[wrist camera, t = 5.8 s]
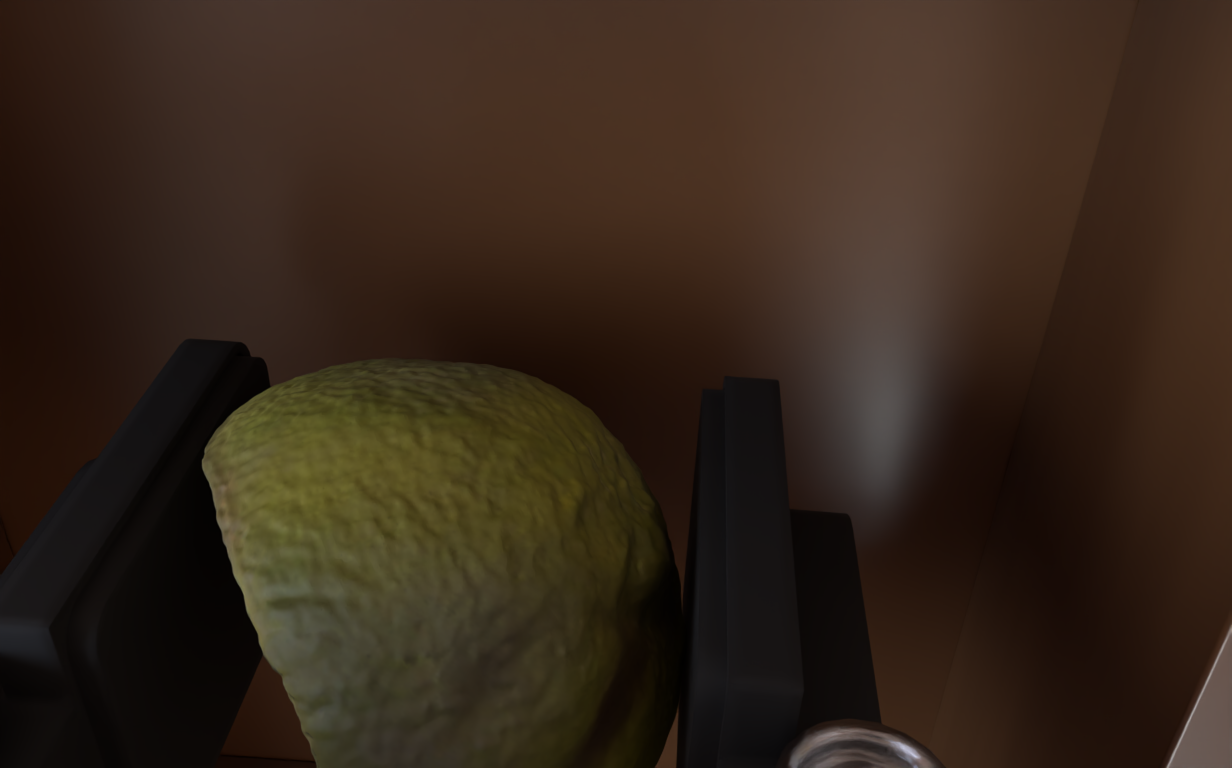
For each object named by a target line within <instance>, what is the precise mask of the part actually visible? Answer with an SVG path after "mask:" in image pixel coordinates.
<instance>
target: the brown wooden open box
mask: <svg viewBox="0 0 1232 768" xmlns="http://www.w3.org/2000/svg"><path fill="white" fill-rule="evenodd" d="M190 338H192V339H206V340H220V341H234V342H242V343H244V344H245V345H246V346H247V348H248V349H249V351H250V355H251V357H261V358H262V359H264V361H265V363H266V365H267V369H268V373H269V380H270V386H271V387H272V386H274V385H277V384H281V383H284V382H287V381H289V380H292V379H294V378H295V377H299V376H303V375H306V374H309V373H314V372H318V371H320V370H322V369H326V368H328V367H330V366H336V365H342V364H346V363H353V362H356V361H365V360H370V359H384V358H402V359H428V360H432V361H449V362H453V363H456V362H462V363H474V364H488V365H493V366H495V367H499V368H505V369H512V370H516V371H520V372H522V373H525V374H527V375H530V376H533V377H536V378H538V379H540V380H542V381H543V382H545V383H547V384H551V385H553V386H555V387H556V388H558V389H560V390H561V391H562V392H565V393H567V394H569V395H571V396H572V397H573V398H575V399H577V400H578V401H579V402H580V403H582V404H583V405H584V406H586V407H588V408H590V409H591V410H592V411H593V412H594V413H595V415H596V416H597V417H598V418H599V419H600V421H601V422H602V424H603V425H604V427H605V428H606V429H607V430H609V431H610V432H611V434H612V435H613V436H614V437H615V438H617V439H618V440H619V442H620V443H622V444H623V446H624V449H625V451H626V452H627V453H628V455H629V456H630V457H631V459H632V460H633V461H634V462H635V463H636V464H637V466H638V467H639V468H640V469H641V471H642V474H643V477H644V479H645V481H646V483H647V484H648V486H649V487H650V489H651V491H652V493H653V495H654V496H655V498H656V499H657V500H658V502H659V503H660V506H661V510H662V513H663V518H664V520H665V522H666V524H667V532H668V537H669V539H670V541H671V544H672V550H673V552H674V557H675V564H676V566H677V569H678V572H679V578H680V582H681V601H682V600H683V586H684V575H685V565H686V554H687V544H688V533H689V523H690V512H691V502H692V491H693V481H694V470H695V460H696V449H697V439H698V428H699V418H700V407H701V397H702V390H703V389H716V390H722V388H723V381H724V377H725V376H733V377H748V378H762V379H776V380H778V381H779V385H780V396H781V409H782V421H783V434H784V446H785V459H786V471H787V483H788V496H789V508H790V509H795V510H809V511H822V512H835V513H847V514H848V515H849V517H850V518H851V522H852V527H853V532H854V539H855V546H856V553H857V559H858V566H859V573H860V580H861V586H862V593H863V600H864V607H865V613H866V620H867V627H868V634H869V640H870V647H871V654H872V661H873V667H874V674H875V681H876V688H877V694H878V701H879V708H880V715H881V721H882V724H883V725H886V726H889V727H891V728H894V729H896V730H899V731H902V732H904V733H906V734H908V735H909V736H911V737H912V738H914V739H915V740H916V741H918V742H919V743H921V744H922V745H924V746H925V747H927V748H928V749H930V750H931V751H932V753H933V754H934V755H935V756H936V757H937V758H938V759H939V760H940V761H941V763H942V764H943V765H944V766H945V767H946V768H1232V0H0V575H1V574H2V573H3V571H4V570H5V569H6V567H7V566H8V565H9V563H10V562H11V561H12V559H13V558H14V557H15V555H16V554H17V553H18V551H19V550H20V549H21V547H22V546H23V545H24V543H25V542H26V540H27V539H28V538H29V536H30V535H31V534H32V532H33V531H34V530H35V528H36V527H37V526H38V524H39V523H40V522H41V520H42V519H43V518H44V516H45V515H46V514H47V512H48V511H49V510H50V508H51V507H52V505H53V504H54V503H55V501H56V500H57V499H58V497H59V496H60V495H61V493H62V492H63V491H64V489H65V488H66V487H67V485H68V484H69V483H70V481H71V480H72V479H73V477H74V476H75V474H76V473H77V472H78V471H79V470H80V469H81V468H82V467H83V466H84V465H85V464H86V463H87V462H88V461H90V460H93V459H95V458H97V457H98V456H99V454H100V453H101V452H102V450H103V449H104V448H105V446H106V445H107V444H108V442H109V441H110V439H111V438H112V437H113V435H114V434H115V433H116V431H117V430H118V428H119V427H120V426H121V424H122V423H123V422H124V420H125V419H126V418H127V416H128V415H129V413H130V412H131V411H132V409H133V408H134V407H135V405H136V404H137V403H138V401H139V400H140V398H141V397H142V396H143V394H144V393H145V392H146V390H147V389H148V387H149V386H150V385H151V383H152V382H153V381H154V379H155V378H156V377H157V375H158V374H159V372H160V371H161V370H162V368H163V367H164V366H165V364H166V363H167V362H168V360H169V359H170V357H171V356H172V355H173V353H174V352H175V351H176V349H177V348H178V346H179V345H180V344H181V343H182V342H183V341H184V340H185V339H190ZM677 731H678V710H677V714H676V717H675V720H674V722H673V725H672V728H671V730H670V732H669V735H668V737H667V740H666V744H665V747H664V749H663V752H662V754H661V756H660V759H659V761H658V763H657V765H656V766H655V768H676V759H677ZM214 768H317V765H316V761H315V759H314V757H313V755H312V753H311V747H310V743H309V741H308V739H307V738H306V736H305V735H304V733H303V731H302V729H301V722H300V720H299V717H298V716H297V713H296V711H295V708H294V704H293V703H292V702H291V700H290V699H289V696H288V693H287V691H286V690H285V687H284V685H283V679H282V676H281V675H280V674H279V673H277V672H276V671H274V670H273V669H272V667H271V666H270V664H269V663H268V662H267V660H266V659H265V657H264V655H263V656H262V658H261V661H260V663H259V665H258V668H257V670H256V672H255V674H254V677H253V679H252V681H251V684H250V686H249V688H248V691H247V693H246V695H245V697H244V700H243V702H242V704H241V707H240V709H239V711H238V714H237V716H236V718H235V721H234V723H233V725H232V727H231V730H230V732H229V734H228V737H227V739H226V741H225V744H224V746H223V748H222V750H221V753H220V755H219V757H218V760H217V762H216V764H215V767H214Z"/></svg>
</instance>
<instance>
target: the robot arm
mask: <svg viewBox="0 0 1232 768" xmlns="http://www.w3.org/2000/svg"><path fill="white" fill-rule="evenodd" d="M269 388H271V386H270V380H269V373H268V369H267V365H266V363H265V361H264V359H262V358H261V357H251V355H250V351H249V349H248V348H247V346H246V345H245V344H244V343H242V342H234V341H220V340H206V339H192V338H190V339H185V340H184V341H183V342H182V343H181V344H180V345H179V346H178V348H177V349H176V351H175V352H174V353H173V355H172V356H171V357H170V359H169V360H168V362H167V363H166V364H165V366H164V367H163V368H162V370H161V371H160V372H159V374H158V375H157V377H156V378H155V379H154V381H153V382H152V383H151V385H150V386H149V387H148V389H147V390H146V392H145V393H144V394H143V396H142V397H141V398H140V400H139V401H138V403H137V404H136V405H135V407H134V408H133V409H132V411H131V412H130V413H129V415H128V416H127V418H126V419H125V420H124V422H123V423H122V424H121V426H120V427H119V428H118V430H117V431H116V433H115V434H114V435H113V437H112V438H111V439H110V441H109V442H108V444H107V445H106V446H105V448H104V449H103V450H102V452H101V453H100V454H99V456H98V457H97V458H95V459H93V460H90V461H88V462H87V463H86V464H85V465H84V466H83V467H82V468H81V469H80V470H79V471H78V472H77V473H76V474H75V476H74V477H73V479H72V480H71V481H70V483H69V484H68V485H67V487H66V488H65V489H64V491H63V492H62V493H61V495H60V496H59V497H58V499H57V500H56V501H55V503H54V504H53V505H52V507H51V508H50V510H49V511H48V512H47V514H46V515H45V516H44V518H43V519H42V520H41V522H40V523H39V524H38V526H37V527H36V528H35V530H34V531H33V532H32V534H31V535H30V536H29V538H28V539H27V540H26V542H25V543H24V545H23V546H22V547H21V549H20V550H19V551H18V553H17V554H16V555H15V557H14V558H13V559H12V561H11V562H10V563H9V565H8V566H7V567H6V569H5V570H4V571H3V573H2V574H1V575H0V768H214V767H215V764H216V762H217V760H218V757H219V755H220V753H221V750H222V748H223V746H224V744H225V741H226V739H227V737H228V734H229V732H230V730H231V727H232V725H233V723H234V721H235V718H236V716H237V714H238V711H239V709H240V707H241V704H242V702H243V700H244V697H245V695H246V693H247V691H248V688H249V686H250V684H251V681H252V679H253V677H254V674H255V672H256V670H257V668H258V665H259V663H260V661H261V658H262V656H263V652H262V649H261V646H260V644H259V639H258V633H257V631H256V629H255V627H254V625H253V623H252V621H251V619H250V617H249V616H248V614H247V611H246V606H245V601H244V594H243V592H242V590H241V588H240V586H239V585H238V583H237V581H236V579H235V577H234V575H233V572H232V564H231V561H230V559H229V557H228V553H227V548H226V546H225V544H224V543H223V540H222V532H221V529H220V527H219V525H218V523H217V519H216V509H215V505H214V501H213V495H212V490H211V488H210V485H209V482H208V480H207V478H206V476H205V474H204V472H203V469H202V459H203V458H204V455H205V453H204V450H205V447H206V446H207V444H208V442H209V441H210V439H211V437H212V436H213V434H214V433H215V431H216V429H217V428H218V427H219V426H220V425H222V424H223V422H224V421H225V420H226V419H227V417H228V416H230V415H231V414H232V413H233V412H234V411H235V410H237V409H238V408H239V407H241V406H242V405H244V404H245V403H247V402H248V401H249V400H250V399H252V398H253V397H255V396H256V395H258V394H260V393H262V392H264V391H265V390H267V389H269ZM682 614H683V617H684V621H685V624H686V632H687V639H686V650H685V656H684V663H683V671H682V678H681V688H680V699H679V704H678V731H677V759H676V768H946V767H945V766H944V765H943V764H942V763H941V761H940V760H939V759H938V758H937V757H936V756H935V755H934V754H933V753H932V751H931V750H930V749H928V748H927V747H925V746H924V745H922V744H921V743H919V742H918V741H916V740H915V739H914V738H912V737H911V736H909V735H908V734H906V733H904V732H902V731H899V730H896V729H894V728H891V727H889V726H886V725H883V724H882V721H881V715H880V708H879V701H878V694H877V688H876V681H875V674H874V667H873V661H872V654H871V647H870V640H869V634H868V627H867V620H866V613H865V607H864V600H863V593H862V586H861V580H860V573H859V566H858V559H857V553H856V546H855V539H854V532H853V527H852V522H851V518H850V517H849V515H848V514H847V513H835V512H822V511H809V510H795V509H790V508H789V496H788V483H787V471H786V459H785V446H784V434H783V421H782V409H781V396H780V385H779V381H778V380H776V379H762V378H748V377H733V376H725V377H724V381H723V388H722V390H716V389H703V390H702V397H701V407H700V418H699V428H698V439H697V449H696V460H695V470H694V481H693V491H692V502H691V512H690V523H689V533H688V544H687V554H686V565H685V575H684V586H683V600H682Z"/></svg>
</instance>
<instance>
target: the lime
mask: <svg viewBox="0 0 1232 768" xmlns="http://www.w3.org/2000/svg"><path fill="white" fill-rule="evenodd" d="M204 453H205V455H204V458H203V459H202V469H203V472H204V474H205V476H206V478H207V480H208V482H209V485H210V488H211V490H212V495H213V501H214V505H215V509H216V519H217V523H218V525H219V527H220V529H221V532H222V540H223V543H224V544H225V546H226V548H227V553H228V557H229V559H230V561H231V564H232V572H233V575H234V577H235V579H236V581H237V583H238V585H239V586H240V588H241V590H242V592H243V594H244V601H245V606H246V611H247V614H248V616H249V617H250V619H251V621H252V623H253V625H254V627H255V629H256V631H257V633H258V639H259V644H260V646H261V649H262V652H263V655H264V657H265V659H266V660H267V662H268V663H269V664H270V666H271V667H272V669H273V670H274V671H276V672H277V673H279V674H280V675H281V676H282V679H283V685H284V687H285V690H286V691H287V693H288V696H289V699H290V700H291V702H292V703H293V704H294V708H295V711H296V713H297V716H298V717H299V720H300V722H301V729H302V731H303V733H304V735H305V736H306V738H307V739H308V741H309V743H310V747H311V753H312V755H313V757H314V759H315V761H316V765H317V768H655V766H656V765H657V763H658V761H659V759H660V756H661V754H662V752H663V749H664V747H665V744H666V740H667V737H668V735H669V732H670V730H671V728H672V725H673V722H674V720H675V717H676V714H677V710H678V704H679V699H680V688H681V678H682V671H683V663H684V656H685V650H686V639H687V632H686V624H685V621H684V617H683V614H682V601H681V582H680V578H679V572H678V569H677V566H676V564H675V557H674V552H673V550H672V544H671V541H670V539H669V537H668V532H667V524H666V522H665V520H664V518H663V513H662V510H661V506H660V503H659V502H658V500H657V499H656V498H655V496H654V495H653V493H652V491H651V489H650V487H649V486H648V484H647V483H646V481H645V479H644V477H643V474H642V471H641V469H640V468H639V467H638V466H637V464H636V463H635V462H634V461H633V460H632V459H631V457H630V456H629V455H628V453H627V452H626V451H625V449H624V446H623V444H622V443H620V442H619V440H618V439H617V438H615V437H614V436H613V435H612V434H611V432H610V431H609V430H607V429H606V428H605V427H604V425H603V424H602V422H601V421H600V419H599V418H598V417H597V416H596V415H595V413H594V412H593V411H592V410H591V409H590V408H588V407H586V406H584V405H583V404H582V403H580V402H579V401H578V400H577V399H575V398H573V397H572V396H571V395H569V394H567V393H565V392H562V391H561V390H560V389H558V388H556V387H555V386H553V385H551V384H547V383H545V382H543V381H542V380H540V379H538V378H536V377H533V376H530V375H527V374H525V373H522V372H520V371H516V370H512V369H505V368H499V367H495V366H493V365H488V364H474V363H462V362H456V363H453V362H449V361H432V360H428V359H402V358H384V359H370V360H365V361H356V362H353V363H346V364H342V365H336V366H330V367H328V368H326V369H322V370H320V371H318V372H314V373H309V374H306V375H303V376H299V377H295V378H294V379H292V380H289V381H287V382H284V383H281V384H277V385H274V386H272V387H271V388H269V389H267V390H265V391H264V392H262V393H260V394H258V395H256V396H255V397H253V398H252V399H250V400H249V401H248V402H247V403H245V404H244V405H242V406H241V407H239V408H238V409H237V410H235V411H234V412H233V413H232V414H231V415H230V416H228V417H227V419H226V420H225V421H224V422H223V424H222V425H220V426H219V427H218V428H217V429H216V431H215V433H214V434H213V436H212V437H211V439H210V441H209V442H208V444H207V446H206V447H205V450H204Z"/></svg>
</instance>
